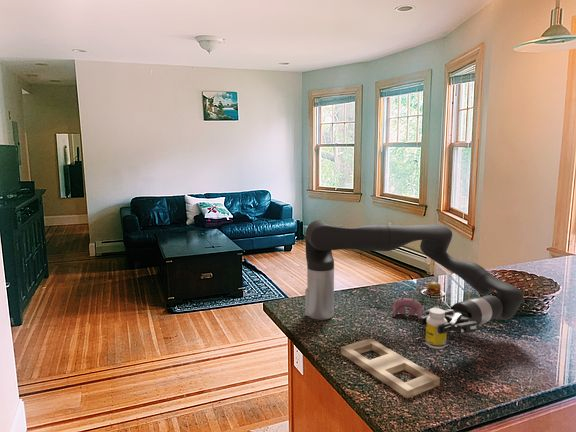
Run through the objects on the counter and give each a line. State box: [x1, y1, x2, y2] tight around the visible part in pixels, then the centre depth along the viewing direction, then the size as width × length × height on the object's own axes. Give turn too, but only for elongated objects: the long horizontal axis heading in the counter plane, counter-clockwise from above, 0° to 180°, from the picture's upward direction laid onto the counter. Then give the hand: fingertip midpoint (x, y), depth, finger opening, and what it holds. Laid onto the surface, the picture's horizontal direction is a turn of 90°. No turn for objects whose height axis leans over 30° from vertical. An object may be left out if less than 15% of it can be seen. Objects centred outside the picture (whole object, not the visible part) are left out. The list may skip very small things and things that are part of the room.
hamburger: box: [421, 281, 446, 298], centre depth 173 cm, size 12×12×6 cm
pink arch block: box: [391, 297, 423, 321], centre depth 152 cm, size 10×5×7 cm, turn 71°
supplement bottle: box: [425, 307, 448, 349], centre depth 119 cm, size 5×5×10 cm
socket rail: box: [340, 337, 441, 399], centre depth 117 cm, size 26×11×2 cm, turn 30°
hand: (430, 325), depth 117 cm, fingers closed on supplement bottle, 5 cm apart
